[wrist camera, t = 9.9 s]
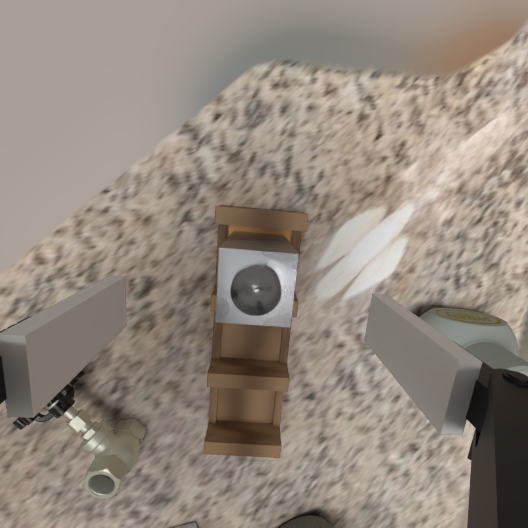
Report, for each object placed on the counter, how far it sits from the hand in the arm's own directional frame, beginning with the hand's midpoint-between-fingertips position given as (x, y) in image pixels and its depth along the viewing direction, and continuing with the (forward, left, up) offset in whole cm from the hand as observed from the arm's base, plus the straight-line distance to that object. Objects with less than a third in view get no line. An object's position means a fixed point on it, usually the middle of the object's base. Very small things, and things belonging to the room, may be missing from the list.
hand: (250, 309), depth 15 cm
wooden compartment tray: (0, -8, -15) cm, 16 cm away
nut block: (0, 0, -13) cm, 13 cm away
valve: (-16, -19, -15) cm, 29 cm away
